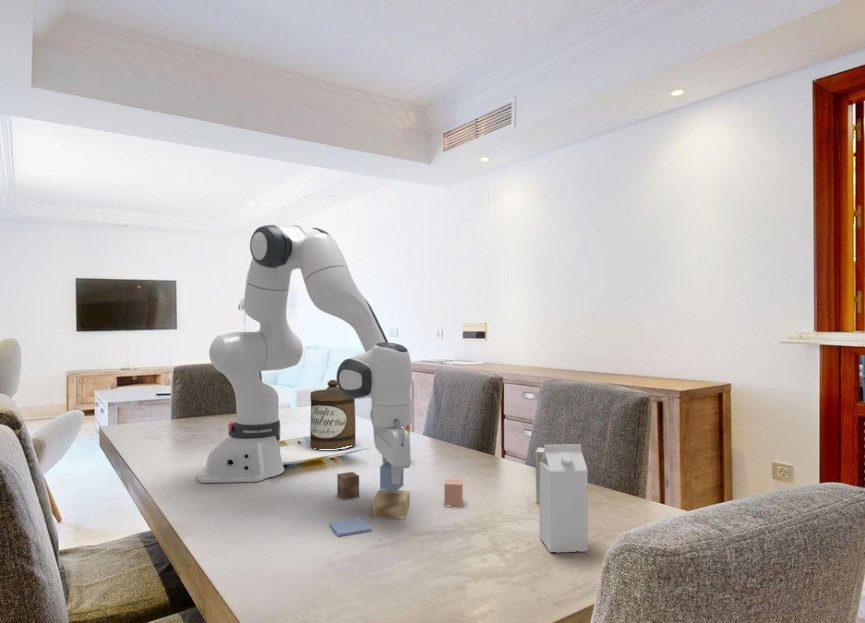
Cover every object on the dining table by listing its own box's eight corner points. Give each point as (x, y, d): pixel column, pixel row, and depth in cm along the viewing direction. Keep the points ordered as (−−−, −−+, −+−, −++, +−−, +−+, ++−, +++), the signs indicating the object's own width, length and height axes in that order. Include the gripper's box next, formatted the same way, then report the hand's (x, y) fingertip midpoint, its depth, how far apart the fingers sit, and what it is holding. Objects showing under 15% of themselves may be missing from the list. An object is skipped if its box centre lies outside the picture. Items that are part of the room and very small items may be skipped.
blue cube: (380, 489, 123) (380, 466, 123) (386, 484, 126) (386, 461, 127) (397, 490, 121) (397, 467, 122) (403, 485, 125) (403, 463, 125)
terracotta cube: (444, 506, 128) (444, 484, 128) (445, 500, 132) (445, 479, 132) (461, 506, 128) (462, 484, 128) (462, 500, 132) (462, 479, 132)
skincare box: (564, 500, 132) (564, 448, 132) (562, 506, 128) (562, 453, 128) (537, 497, 134) (537, 446, 134) (535, 503, 130) (535, 450, 130)
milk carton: (539, 538, 109) (539, 440, 109) (574, 537, 110) (574, 440, 110) (550, 553, 102) (550, 449, 102) (587, 552, 103) (587, 448, 103)
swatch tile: (337, 536, 110) (337, 534, 110) (328, 524, 116) (328, 522, 116) (371, 531, 113) (371, 528, 113) (361, 519, 119) (361, 517, 119)
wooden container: (301, 449, 182) (302, 381, 182) (323, 439, 196) (323, 377, 196) (343, 452, 178) (343, 383, 178) (362, 442, 192) (362, 378, 192)
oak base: (373, 518, 121) (373, 499, 121) (378, 507, 128) (378, 489, 128) (405, 519, 120) (405, 500, 120) (409, 508, 127) (409, 490, 127)
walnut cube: (343, 499, 133) (343, 478, 133) (337, 494, 136) (337, 474, 136) (359, 496, 135) (359, 475, 135) (352, 492, 138) (352, 471, 138)
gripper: (418, 424, 115) (418, 491, 115) (394, 408, 135) (394, 465, 135) (388, 425, 113) (388, 494, 113) (369, 409, 133) (368, 468, 133)
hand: (391, 478), depth 124 cm, fingers closed on blue cube, 6 cm apart
